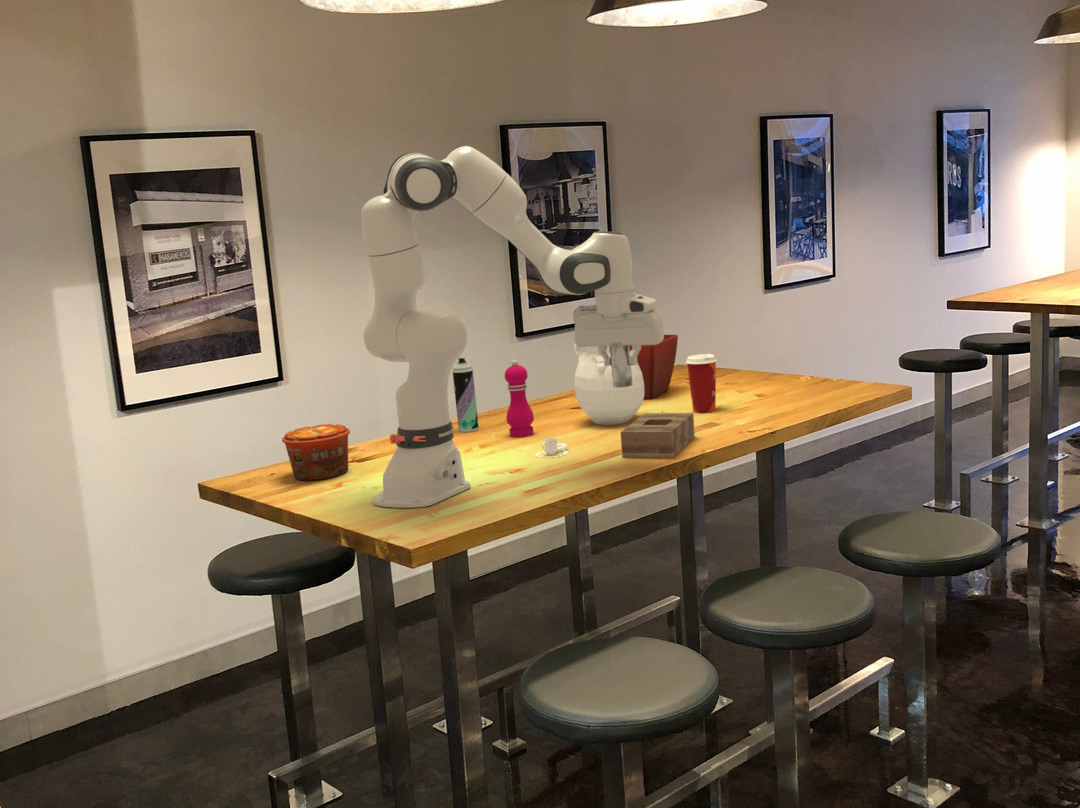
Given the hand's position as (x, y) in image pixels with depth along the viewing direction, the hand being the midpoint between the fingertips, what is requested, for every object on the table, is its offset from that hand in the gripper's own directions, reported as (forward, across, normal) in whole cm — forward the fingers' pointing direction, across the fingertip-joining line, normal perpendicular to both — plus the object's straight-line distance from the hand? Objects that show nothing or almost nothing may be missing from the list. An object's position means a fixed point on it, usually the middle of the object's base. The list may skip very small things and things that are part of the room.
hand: (621, 365), depth 237 cm
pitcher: (+23, -18, +38) cm, 48 cm away
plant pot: (+24, -21, +74) cm, 81 cm away
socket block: (+22, +4, +12) cm, 25 cm away
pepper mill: (+22, -37, +23) cm, 49 cm away
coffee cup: (+23, +4, +52) cm, 57 cm away
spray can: (+22, -56, +28) cm, 66 cm away
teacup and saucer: (+23, -18, +4) cm, 29 cm away
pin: (+5, 0, 0) cm, 5 cm away
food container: (+21, -72, -18) cm, 77 cm away
